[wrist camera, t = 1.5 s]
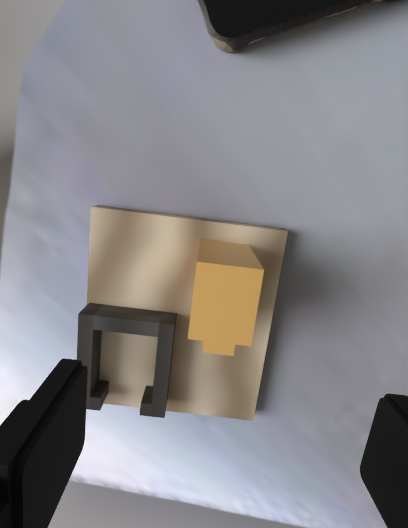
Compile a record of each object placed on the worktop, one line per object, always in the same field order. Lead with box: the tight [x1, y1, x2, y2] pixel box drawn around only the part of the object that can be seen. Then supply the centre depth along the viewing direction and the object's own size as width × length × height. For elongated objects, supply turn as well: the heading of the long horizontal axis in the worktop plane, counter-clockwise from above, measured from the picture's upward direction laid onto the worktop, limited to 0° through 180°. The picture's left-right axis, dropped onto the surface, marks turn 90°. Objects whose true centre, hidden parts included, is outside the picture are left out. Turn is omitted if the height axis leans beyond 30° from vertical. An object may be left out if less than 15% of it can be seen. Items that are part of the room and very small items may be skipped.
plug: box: [188, 239, 264, 356], centre depth 25 cm, size 4×6×8 cm
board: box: [77, 205, 288, 420], centre depth 29 cm, size 16×18×4 cm
